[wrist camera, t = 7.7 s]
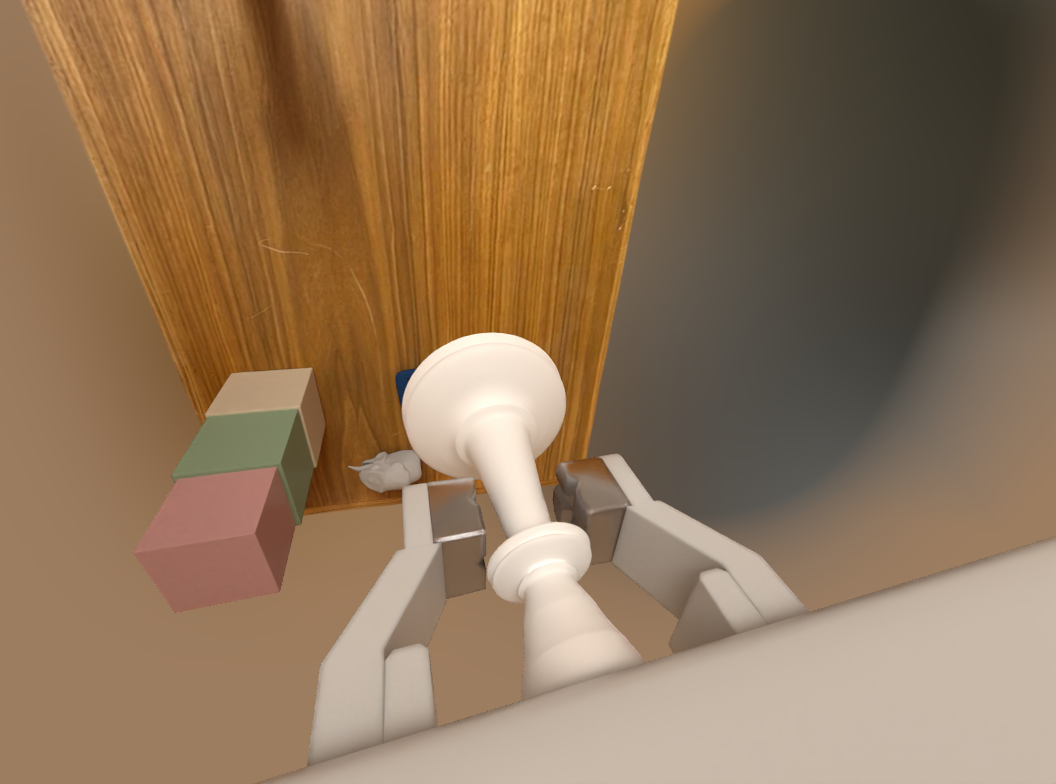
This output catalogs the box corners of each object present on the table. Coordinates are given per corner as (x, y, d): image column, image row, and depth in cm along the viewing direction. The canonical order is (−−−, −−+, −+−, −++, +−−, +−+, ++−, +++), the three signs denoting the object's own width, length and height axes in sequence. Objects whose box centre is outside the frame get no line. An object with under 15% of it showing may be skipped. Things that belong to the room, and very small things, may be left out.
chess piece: (590, 369, 13) (926, 772, 5) (512, 480, 15) (666, 919, 6) (448, 302, 11) (646, 879, 2) (374, 445, 12) (348, 1070, 4)
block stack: (230, 372, 39) (117, 548, 22) (312, 367, 40) (262, 526, 24) (252, 431, 42) (167, 619, 26) (326, 424, 44) (290, 595, 28)
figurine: (418, 468, 51) (421, 496, 47) (349, 470, 48) (345, 501, 44) (421, 444, 49) (423, 471, 45) (348, 445, 46) (344, 474, 42)
